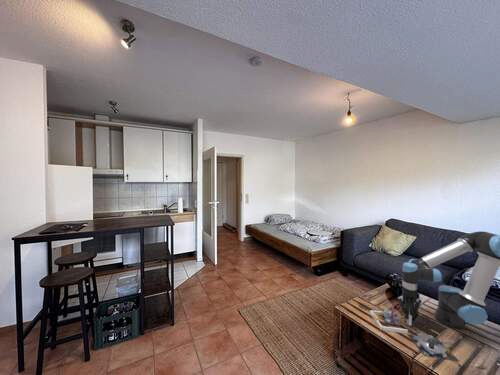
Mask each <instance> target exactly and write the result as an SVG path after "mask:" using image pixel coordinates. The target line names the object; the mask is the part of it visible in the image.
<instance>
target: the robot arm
mask: <svg viewBox="0 0 500 375" xmlns="http://www.w3.org/2000/svg"><path fill="white" fill-rule="evenodd" d="M474 251H476V253H477V255H478V257H477V259H476V262H475V264H474V266H473V268H472V271H471V273H470V275H469V277H468V279H467V281H466V284H465V286H464V288H463V290H462V289H461V288H458V287H455V286H452V285H451V286H450V285H444V284H442V285H440V286H438V298H437V299H438V301H437V302H438V303H437V304H438V305H437V308H436V310H435V311H434V314H433V316H434V317H433V318H435V319H436V320H437V321H438V322H439V323H440V324H442V325H444V326H447V327H450V328H451V329H455V330H465V329H466V328H467V323H468V324H471V325H481V324H484V323H485V322H487V320H488V318H489V316H488V314H487V311H486V310H485V309H486V306H487V304H486V303H485V298H486V296H487V294H488V292H489V290H490V287H491V286H492V284H493V282H494V279H495V278H496V275H497V273H498V271H499V268H500V234H495V233H491V232H488V231H480V230H479V231H474V232H471V233H467V234H465V235H462V236H461V237H460V236H459V237H458V238H457V239H456V241H453V242H452V243H450V244H448V245H445V246H443V247H441V248H439V249H437V250H435V251H433V252H430V253H428V254H426V255H424V256H422V257H420V258H418V259H416V258H410V259H409V260H408V262H406V261H405V262H403V264H402V274H401V275H402V279H401V280H402V281H401V282H402V284H401V285H402V286H401V292H402V293H401V295H400V296H397V299H398V301H399V306H400V309H401V312H403V313H404V316H405V317H404V318H405V319H406V324H407V325H408V326H412V324H413V323H412V322H413V320H414V316H415V315H418V312H419V308H420V305H421V304H422V299H420V298H418V281H425V282H433V283H434V282H435V283H439V282H442V279H443V278H442V277H443V276H442V272H441V271H440V270H439V269H437V268H434V267H436V266H439V265H441V264H442V263H443V264H444V263H446V262H447V261H450V260H452V259H454V258H456V257H459V256H461V255H463V254H465V253H467V252H470V253H471V252H472V253H473V252H474Z"/></svg>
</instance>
